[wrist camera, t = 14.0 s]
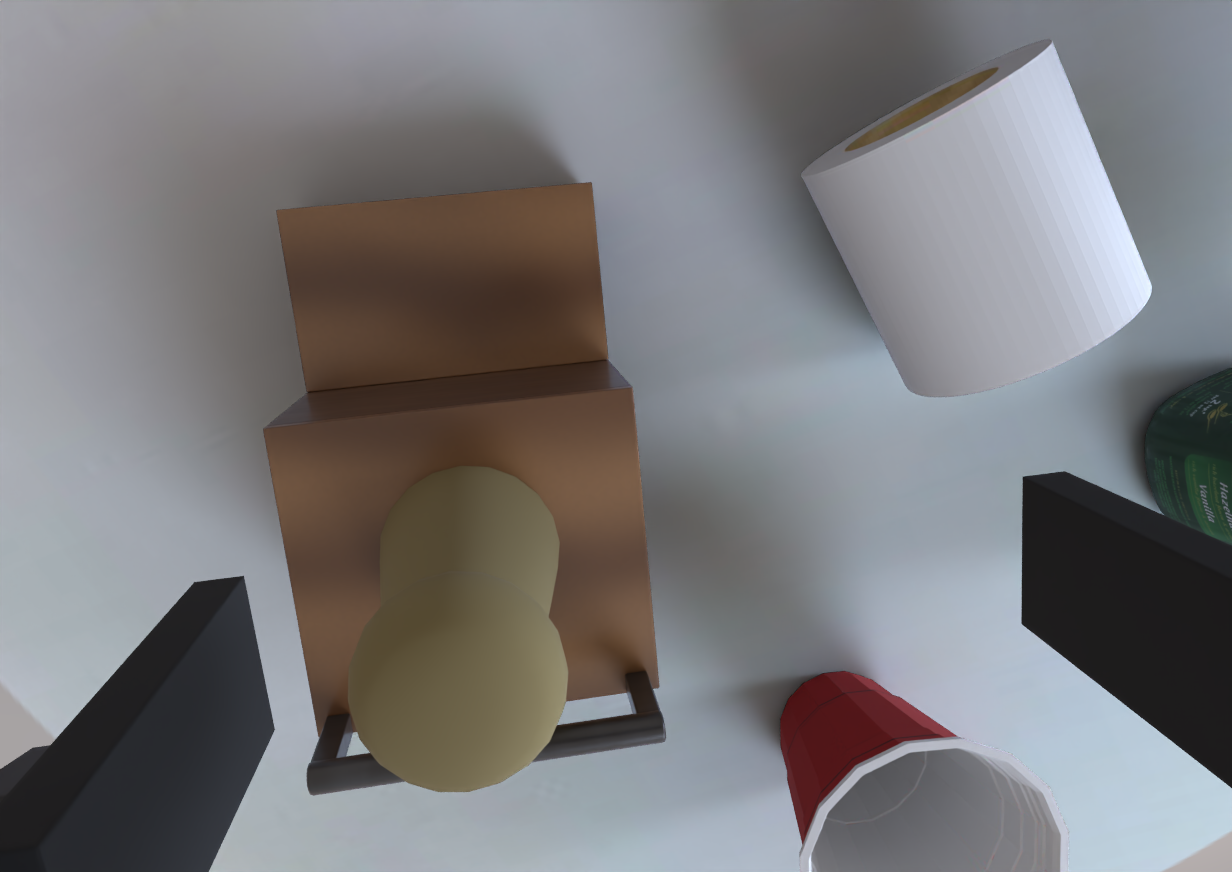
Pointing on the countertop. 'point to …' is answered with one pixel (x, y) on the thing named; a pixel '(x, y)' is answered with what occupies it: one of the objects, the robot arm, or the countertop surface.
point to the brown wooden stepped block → (460, 432)
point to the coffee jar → (1194, 456)
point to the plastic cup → (908, 789)
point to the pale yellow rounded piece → (462, 634)
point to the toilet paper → (982, 228)
